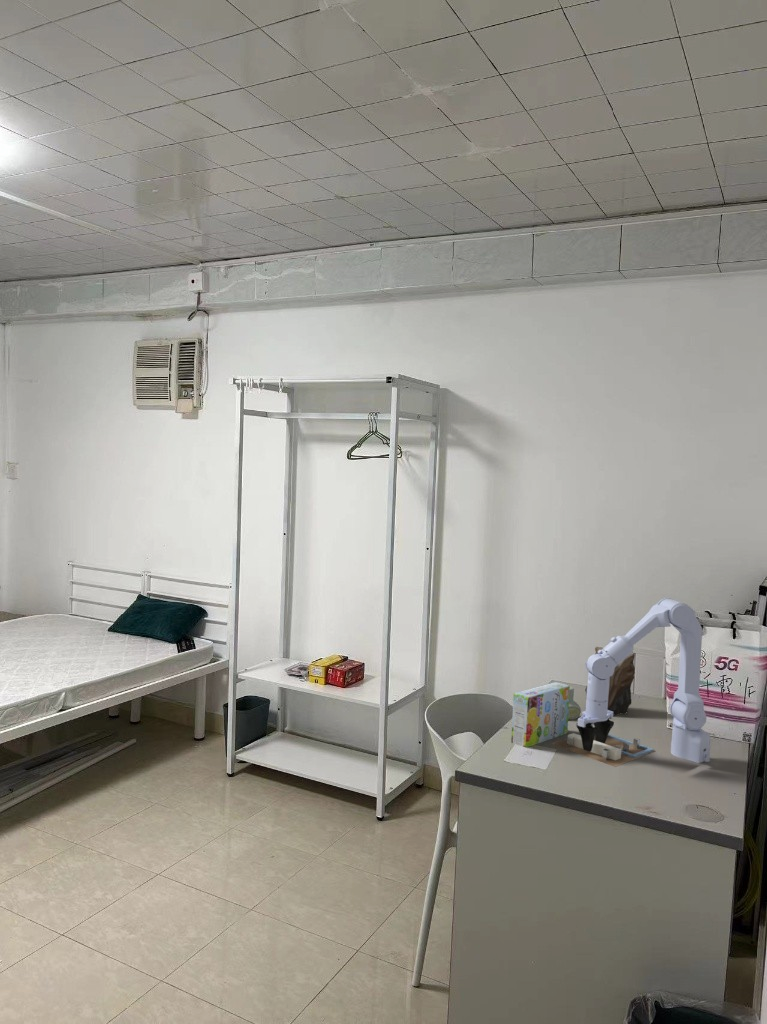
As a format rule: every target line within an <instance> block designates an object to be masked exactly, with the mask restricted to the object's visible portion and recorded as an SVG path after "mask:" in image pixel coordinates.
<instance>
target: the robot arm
mask: <svg viewBox="0 0 767 1024" xmlns="http://www.w3.org/2000/svg"><path fill="white" fill-rule="evenodd" d="M671 626H672V627H674V628H675V629H676V630H677V631H678V633H680V642H679V643H680V646H679V662H678V663H679V664H678V665H679V667H678V681H677V682H678V685H677V690H676V691H675V692H674V693H673V700H672V701H671V703H670V704H669V705H670V706H669V713H670V715H671V716H672V717H673V721H672V728H671V729H672V732H671V743H670V754H671V755H673V756H674V757H676V758H679V759H684V760H687V761H691V762H694V763H697V764H701V763H703V762H706V763H708V762H710V761H711V759H710V751H711V735H710V733H709V732H707V731H705V730H703V729H702V728H703V727H704V726H705V724H706V722H707V714H706V712H705V709H704V706H705V705H704V704H705V703H704V700H703V699H702V696H701V694H700V682H701V681H700V680H701V679H700V677H701V663H702V662H701V661H702V644H703V643H702V641H703V640H702V639H703V627H702V625H701V624H700V621H699V620H698V618H697V615H696V610H695V609H693V608H692V607H691V606H689V605H688V604H687V603H685V602H681V601H678V600H675V599H674V598H671V597H665V598H662V599H660V600H659V601H658V602H657V603H655V604H653V606H651V607H650V609H649V611H648V612H647V613H646V614H645V615H644V616H643V617H642V618H641V619H640V620H639V621H638V622H636V624H635V625H634V626H633V627H631V629H629V631H627V632H626V634H624V635H617V636H616V637H615V636H613V637H611V638H610V640H609V641H610V642H609V643H608V644H607V645H605V646H604V647H602V648H603V649H602V650H599V651H598V654H595V653H593V654H591V655H590V656H589V657H588V658H587V661H586V662H585V664H584V666H585V668H586V670H587V672H588V674H587V675H588V676H587V685H586V686H587V696H586V699H585V710H583V711H582V710H581V716H579V718H578V717H577V722H576V728H577V730H578V732H579V734H580V735H581V739H582V745H583V750H586V751H589V752H590V751H591V750H592V746H593V740H594V737H595V741H598V742H601V743H604V744H605V742H606V739H607V736H608V734H609V733H610V731H611V729H612V728H613V727H614V725H615V722H614V721H613V720H612V719H614V715H613V712H612V711H609V710H607V709H608V694H609V679H610V676H612V675H613V673H614V669H615V667H616V666H617V665H618V664H620V663H621V662H622V661H623V660H624V659H625V658H626V657H628V656H629V655H630V654H633V652H634V646H635V645H636V644H637V643H638V642H640V641H641V640H642V639H644V638H645V637H646V636H647V635H649V634H650V633H652V631H654V630H655V629H656V628H665V627H666V628H667V627H668V628H669V627H671ZM593 725H594V726H593ZM609 735H610V734H609Z"/></svg>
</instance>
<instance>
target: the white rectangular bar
mask: <svg viewBox="0 0 767 1024" xmlns="http://www.w3.org/2000/svg"><path fill="white" fill-rule="evenodd" d="M568 737H573V738H574V746H576V747H579V748H581V749H583V745H582V739H581V736H580V735H578V734H577V733H570V734H567V738H568ZM567 744H568V740H567ZM603 749H608V750H609V758H610V759H613V760H618V759H620V758H621V749H619V748H616V747H613V746H610V745H607V744H604V743H601V742H598V741H595V740H593V746H592V750H591V751H590V752H593V753H596V754H598V755H601V756H603Z"/></svg>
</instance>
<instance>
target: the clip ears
mask: <svg viewBox="0 0 767 1024" xmlns="http://www.w3.org/2000/svg"><path fill="white" fill-rule="evenodd" d="M578 734H579V735H580V733H578ZM580 736H581V735H580ZM567 738H568V744H567V746H568V747H574V738H573V737H568V736H567ZM640 739H641V738H637V737H635V738H633V741H632V742H633V748H636V749H638V748H639V745H641V744H640V742H641V740H640ZM614 747H616V748H619V749H621V746H619V745H615V746H614ZM622 751H625V752H629V743H628V742H623V750H622ZM602 759H604V760H608V759H609V750H608V749H603V757H602Z"/></svg>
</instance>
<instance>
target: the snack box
mask: <svg viewBox="0 0 767 1024" xmlns="http://www.w3.org/2000/svg"><path fill="white" fill-rule="evenodd" d="M570 686H571V685H568V684H566V683H565V684H564V683H561V682H557V681H555V682H551V683H548V684H544V685H540V686H536V687H533V688H528V689H525V690H522V691H517V692H514V693H512V694H513V698H512V718H511V719H512V721H511V737H510V738H511V739H510V740H511V741H510V743H511V744H515V745H518V746H520V747H523V748H529V747H532V746H536V745H538V744H541V743H543V742H546V741H549V740H552V739H554V738H558V737H560V736H563V735H566V734H568V731H569V730H568V729H569V727H568V726H569V719H568V712H569V691H570Z"/></svg>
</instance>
